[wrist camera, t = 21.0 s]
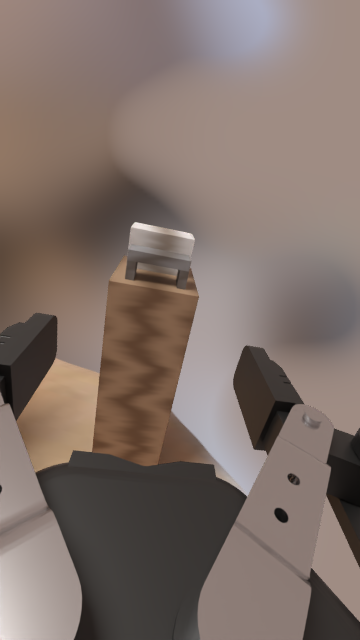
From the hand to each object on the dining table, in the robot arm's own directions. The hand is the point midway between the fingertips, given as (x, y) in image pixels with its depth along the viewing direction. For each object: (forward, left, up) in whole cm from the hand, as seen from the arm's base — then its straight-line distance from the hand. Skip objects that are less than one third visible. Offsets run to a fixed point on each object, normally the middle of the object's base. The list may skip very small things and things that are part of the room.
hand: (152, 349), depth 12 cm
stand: (0, +25, -36) cm, 44 cm away
